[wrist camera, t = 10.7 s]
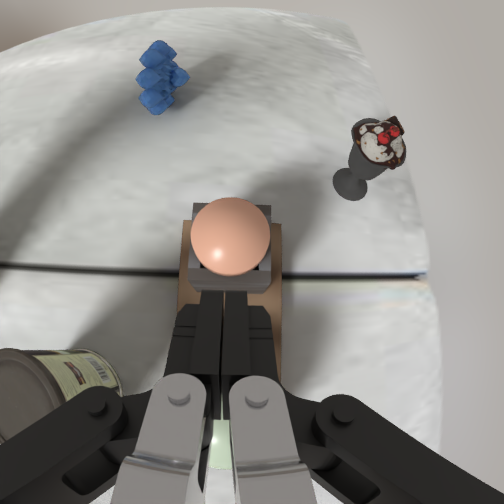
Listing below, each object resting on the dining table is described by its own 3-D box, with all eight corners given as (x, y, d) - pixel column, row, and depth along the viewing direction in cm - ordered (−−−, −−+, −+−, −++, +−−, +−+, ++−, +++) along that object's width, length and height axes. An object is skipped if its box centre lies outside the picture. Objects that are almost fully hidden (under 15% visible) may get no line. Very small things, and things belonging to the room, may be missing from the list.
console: (275, 441, 30) (289, 472, 22) (178, 438, 30) (162, 468, 21) (278, 229, 37) (292, 196, 28) (186, 226, 36) (173, 192, 28)
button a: (258, 441, 27) (265, 469, 20) (194, 439, 27) (184, 466, 20) (259, 383, 29) (268, 397, 22) (194, 381, 29) (183, 394, 21)
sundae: (334, 210, 38) (384, 143, 24) (320, 165, 40) (357, 88, 26) (378, 204, 39) (437, 144, 25) (363, 162, 41) (410, 92, 26)
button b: (261, 289, 32) (270, 274, 24) (198, 286, 31) (187, 271, 24) (261, 229, 33) (270, 199, 26) (201, 227, 33) (194, 196, 26)
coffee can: (44, 404, 29) (-27, 422, 15) (63, 334, 32) (-10, 326, 18) (111, 444, 29) (56, 488, 15) (134, 371, 31) (78, 388, 18)
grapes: (186, 136, 40) (174, 73, 28) (140, 135, 40) (118, 75, 28) (200, 80, 43) (195, 20, 32) (159, 80, 43) (147, 23, 31)
